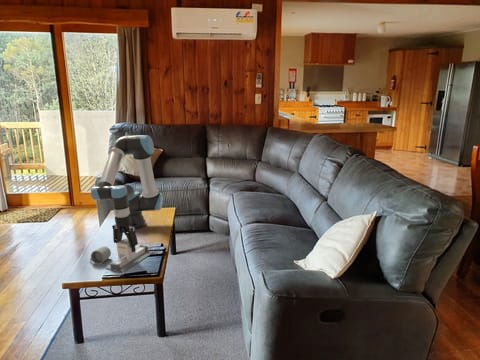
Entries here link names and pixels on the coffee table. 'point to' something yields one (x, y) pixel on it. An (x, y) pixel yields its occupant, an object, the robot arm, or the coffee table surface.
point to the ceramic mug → (100, 255)
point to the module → (124, 249)
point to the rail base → (125, 265)
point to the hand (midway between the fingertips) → (127, 256)
